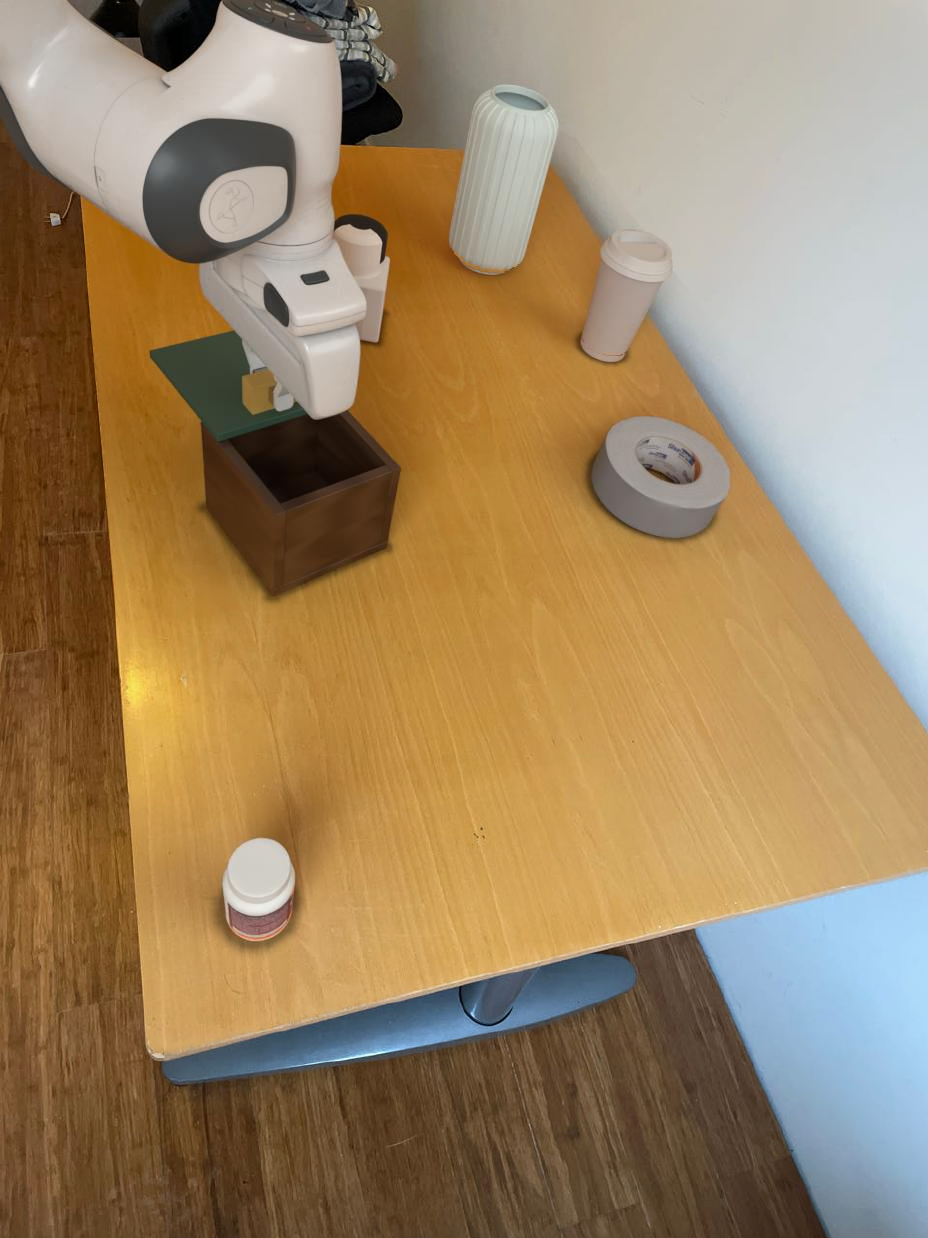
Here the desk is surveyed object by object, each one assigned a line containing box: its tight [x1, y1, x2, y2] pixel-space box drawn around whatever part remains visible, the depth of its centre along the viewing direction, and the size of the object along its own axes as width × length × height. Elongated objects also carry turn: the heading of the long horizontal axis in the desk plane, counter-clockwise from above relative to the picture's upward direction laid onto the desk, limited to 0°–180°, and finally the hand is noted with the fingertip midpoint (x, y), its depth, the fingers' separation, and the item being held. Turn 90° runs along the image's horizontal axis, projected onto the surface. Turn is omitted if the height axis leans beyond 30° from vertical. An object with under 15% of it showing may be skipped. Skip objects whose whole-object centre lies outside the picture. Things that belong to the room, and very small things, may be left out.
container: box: [333, 213, 391, 344], centre depth 100 cm, size 8×8×13 cm
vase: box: [448, 83, 560, 276], centre depth 113 cm, size 12×12×22 cm
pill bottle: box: [221, 837, 296, 942], centre depth 56 cm, size 5×5×8 cm
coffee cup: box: [580, 227, 673, 363], centre depth 108 cm, size 10×10×15 cm
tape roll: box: [590, 415, 731, 539], centre depth 95 cm, size 15×15×5 cm
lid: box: [148, 330, 308, 442], centre depth 76 cm, size 13×13×4 cm
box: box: [200, 409, 402, 597], centre depth 78 cm, size 13×13×11 cm
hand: (271, 395), depth 74 cm, fingers closed on lid, 2 cm apart
